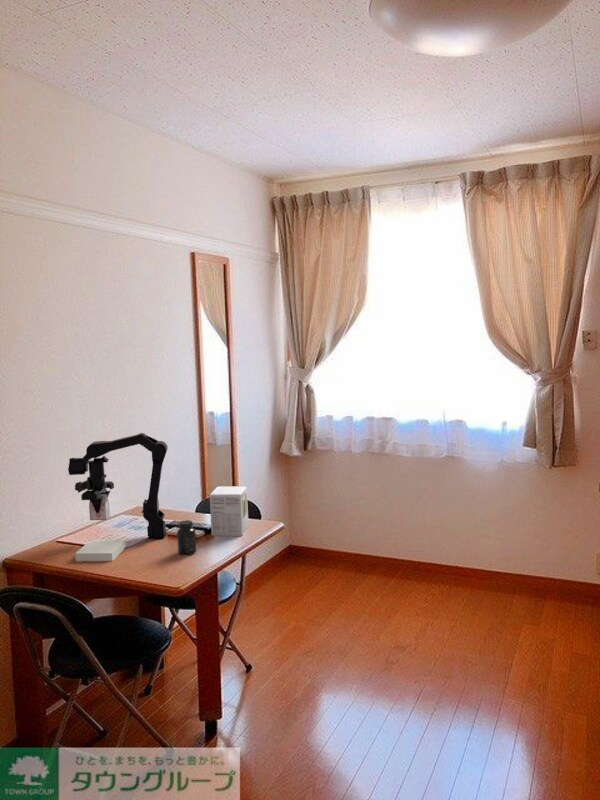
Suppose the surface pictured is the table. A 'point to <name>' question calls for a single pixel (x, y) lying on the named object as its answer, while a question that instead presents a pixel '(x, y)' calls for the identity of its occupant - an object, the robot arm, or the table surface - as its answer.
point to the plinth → (100, 550)
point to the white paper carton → (103, 512)
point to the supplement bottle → (186, 538)
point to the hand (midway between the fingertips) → (99, 511)
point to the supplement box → (229, 511)
